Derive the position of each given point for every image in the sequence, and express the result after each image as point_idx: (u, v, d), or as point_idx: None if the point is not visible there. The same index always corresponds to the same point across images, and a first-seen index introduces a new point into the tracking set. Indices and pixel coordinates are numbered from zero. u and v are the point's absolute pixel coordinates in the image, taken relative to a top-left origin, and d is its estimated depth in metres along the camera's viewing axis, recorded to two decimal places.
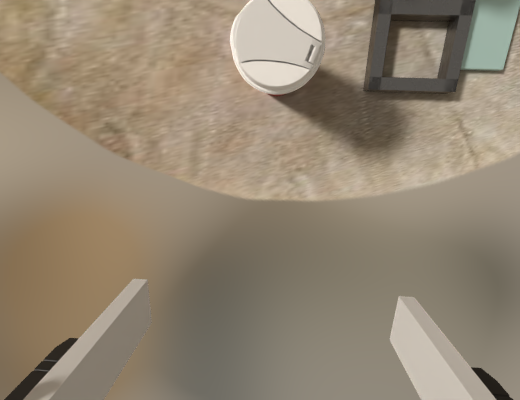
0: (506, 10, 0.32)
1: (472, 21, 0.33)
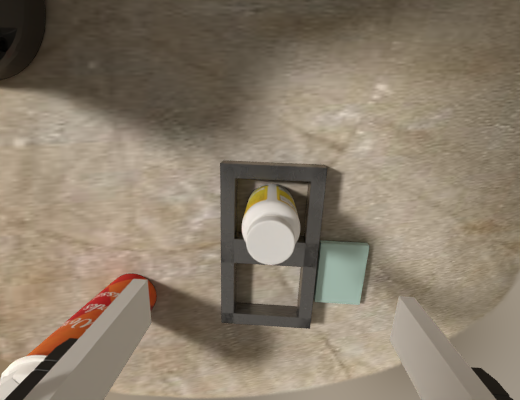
0: (355, 256, 0.31)
1: (322, 264, 0.31)
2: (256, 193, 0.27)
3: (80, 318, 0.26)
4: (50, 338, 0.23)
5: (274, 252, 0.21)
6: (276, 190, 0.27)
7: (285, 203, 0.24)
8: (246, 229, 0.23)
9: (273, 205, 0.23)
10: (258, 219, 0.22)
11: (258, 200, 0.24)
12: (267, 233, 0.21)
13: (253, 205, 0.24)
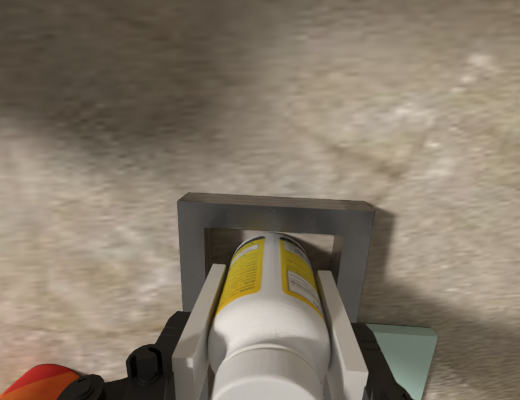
0: (412, 352, 0.18)
1: None
2: (242, 258, 0.15)
3: None
4: None
5: None
6: (280, 254, 0.14)
7: (299, 300, 0.11)
8: (215, 358, 0.11)
9: (275, 311, 0.10)
10: (237, 361, 0.09)
11: (243, 289, 0.12)
12: None
13: (231, 304, 0.11)
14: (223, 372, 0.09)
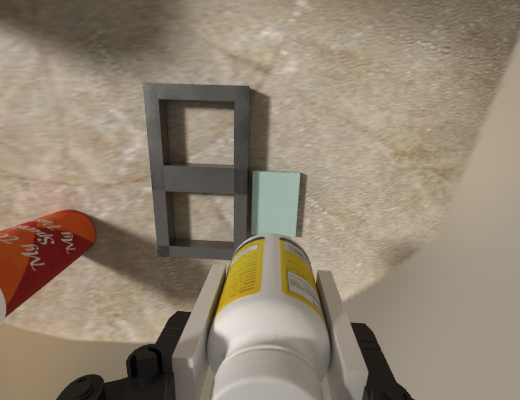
0: (287, 185, 0.31)
1: (255, 194, 0.31)
2: (242, 258, 0.15)
3: None
4: None
5: None
6: (280, 254, 0.14)
7: (299, 301, 0.11)
8: (215, 359, 0.11)
9: (275, 312, 0.10)
10: (236, 361, 0.09)
11: (242, 289, 0.12)
12: None
13: (231, 304, 0.11)
14: (223, 373, 0.09)
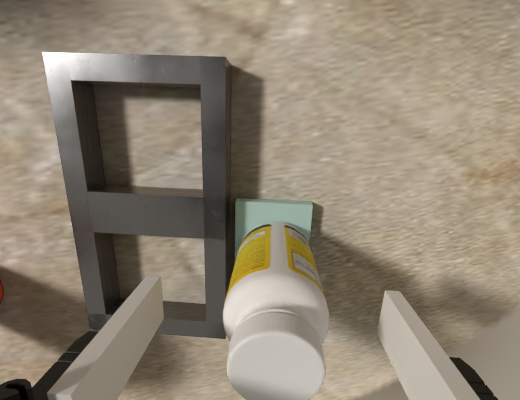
0: (291, 223, 0.19)
1: (240, 236, 0.20)
2: (252, 242, 0.16)
3: None
4: None
5: (283, 387, 0.11)
6: (285, 239, 0.16)
7: (303, 276, 0.13)
8: (230, 324, 0.13)
9: (283, 284, 0.12)
10: (251, 321, 0.11)
11: (254, 266, 0.13)
12: (269, 354, 0.10)
13: (245, 278, 0.13)
14: (240, 331, 0.11)
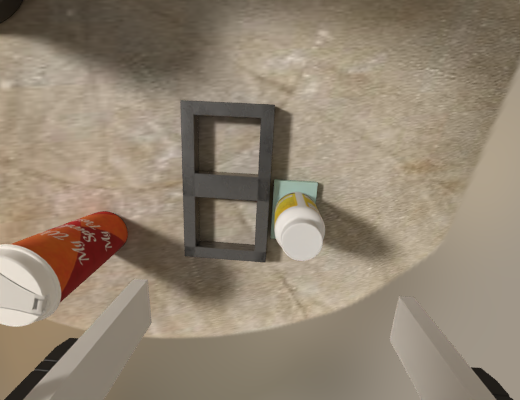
0: (305, 193, 0.34)
1: (275, 201, 0.34)
2: (285, 199, 0.31)
3: (50, 230, 0.29)
4: None
5: (304, 250, 0.25)
6: (303, 198, 0.31)
7: (313, 209, 0.28)
8: (279, 230, 0.27)
9: (304, 210, 0.27)
10: (291, 222, 0.26)
11: (289, 206, 0.28)
12: (299, 233, 0.25)
13: (286, 210, 0.28)
14: (287, 226, 0.26)
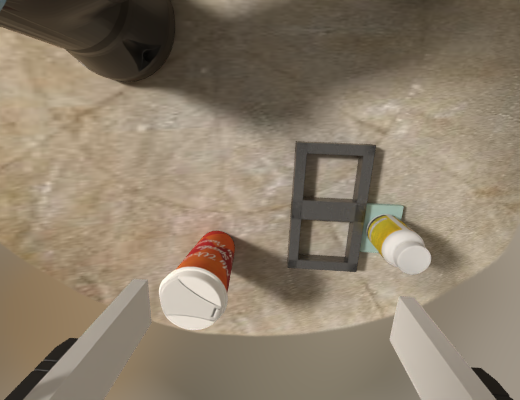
0: None
1: (366, 221, 0.41)
2: (382, 222, 0.38)
3: (200, 252, 0.36)
4: (187, 261, 0.33)
5: (416, 266, 0.32)
6: (398, 220, 0.38)
7: (415, 232, 0.35)
8: (389, 249, 0.34)
9: (410, 234, 0.34)
10: (405, 244, 0.33)
11: (394, 229, 0.35)
12: (413, 253, 0.32)
13: (393, 233, 0.35)
14: (401, 247, 0.33)
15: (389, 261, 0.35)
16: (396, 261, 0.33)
